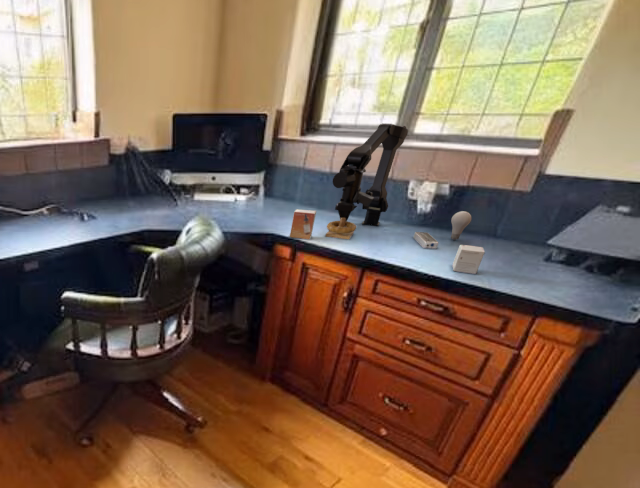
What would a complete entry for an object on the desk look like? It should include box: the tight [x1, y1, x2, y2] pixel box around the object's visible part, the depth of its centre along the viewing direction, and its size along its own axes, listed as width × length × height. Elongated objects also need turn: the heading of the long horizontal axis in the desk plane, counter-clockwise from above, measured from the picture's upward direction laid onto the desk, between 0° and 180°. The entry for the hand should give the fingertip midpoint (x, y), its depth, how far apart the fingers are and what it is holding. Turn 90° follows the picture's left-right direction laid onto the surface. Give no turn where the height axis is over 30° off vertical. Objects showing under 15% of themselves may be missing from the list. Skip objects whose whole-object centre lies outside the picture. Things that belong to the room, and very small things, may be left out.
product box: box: [452, 244, 486, 275], centre depth 134 cm, size 6×6×7 cm
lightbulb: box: [450, 210, 472, 241], centre depth 162 cm, size 6×6×11 cm
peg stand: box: [325, 217, 355, 240], centre depth 172 cm, size 9×9×7 cm
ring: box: [326, 220, 357, 233], centre depth 172 cm, size 11×11×2 cm
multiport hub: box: [413, 231, 439, 250], centre depth 162 cm, size 4×14×2 cm, turn 163°
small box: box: [289, 208, 317, 240], centre depth 171 cm, size 8×6×10 cm
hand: (343, 224), depth 175 cm, fingers closed on ring, 2 cm apart
